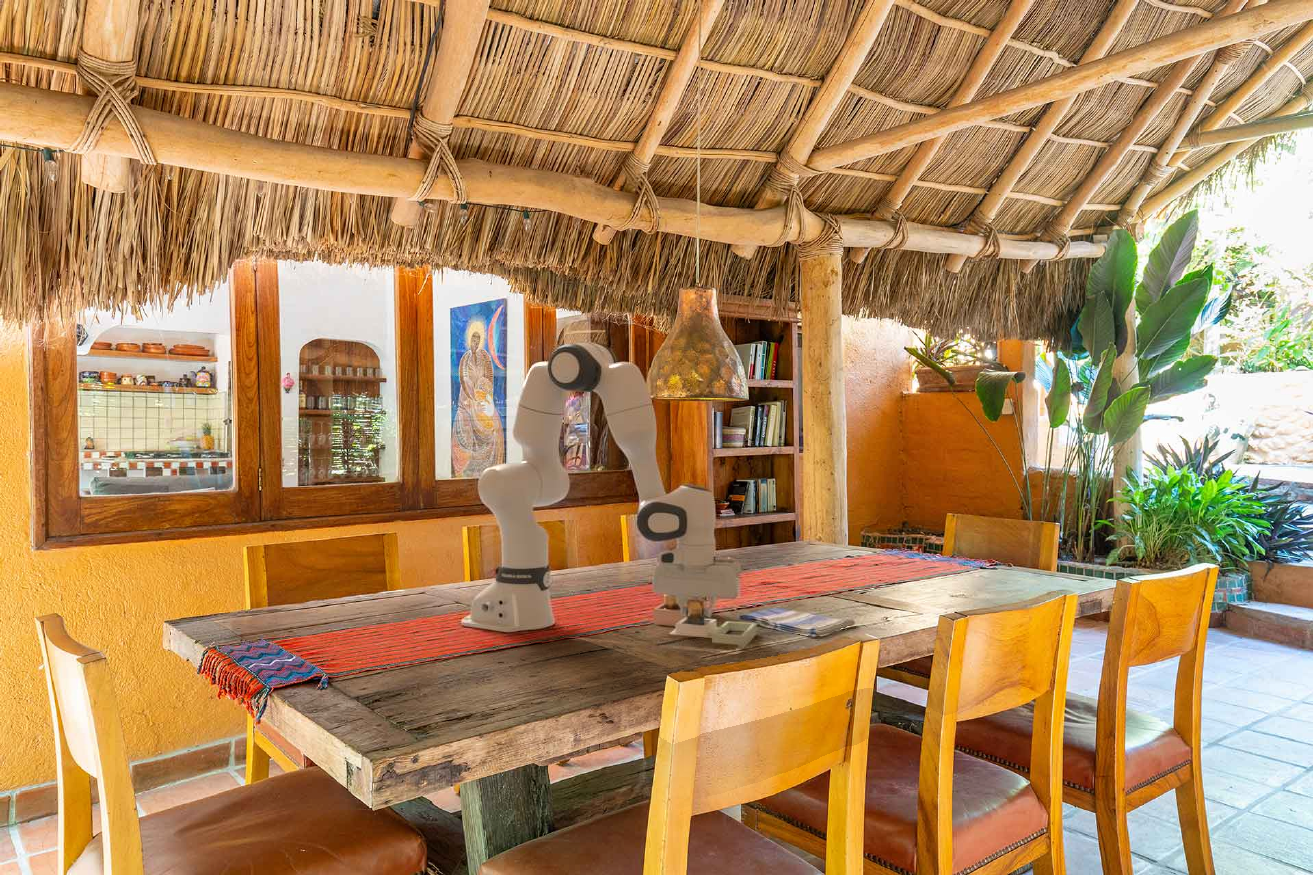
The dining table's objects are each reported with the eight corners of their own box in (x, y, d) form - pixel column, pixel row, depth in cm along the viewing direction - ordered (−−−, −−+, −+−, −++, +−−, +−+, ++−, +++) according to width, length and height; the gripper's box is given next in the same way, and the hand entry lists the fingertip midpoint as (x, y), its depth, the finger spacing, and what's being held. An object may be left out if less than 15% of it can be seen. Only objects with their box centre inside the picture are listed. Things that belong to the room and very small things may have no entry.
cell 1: (661, 622, 207) (661, 591, 207) (667, 619, 210) (667, 588, 210) (676, 624, 205) (677, 592, 205) (682, 621, 209) (683, 589, 209)
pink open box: (653, 627, 206) (653, 609, 206) (662, 621, 212) (662, 603, 212) (681, 629, 203) (681, 611, 203) (690, 623, 210) (690, 605, 210)
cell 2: (684, 631, 197) (684, 598, 197) (689, 627, 201) (689, 595, 201) (701, 633, 196) (701, 599, 196) (706, 629, 200) (706, 596, 200)
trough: (712, 645, 189) (712, 633, 189) (726, 632, 201) (726, 621, 201) (743, 648, 186) (743, 636, 186) (756, 634, 199) (756, 623, 199)
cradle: (669, 637, 196) (669, 624, 196) (681, 628, 204) (681, 616, 204) (712, 641, 193) (712, 627, 193) (722, 631, 201) (722, 619, 201)
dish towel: (815, 641, 195) (816, 629, 195) (735, 624, 212) (736, 612, 212) (858, 629, 207) (858, 617, 207) (779, 613, 224) (779, 602, 224)
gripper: (743, 555, 198) (743, 616, 198) (658, 551, 205) (658, 609, 205) (737, 559, 192) (737, 622, 192) (650, 555, 199) (649, 615, 199)
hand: (695, 615), depth 199 cm, fingers closed on cell 2, 4 cm apart
